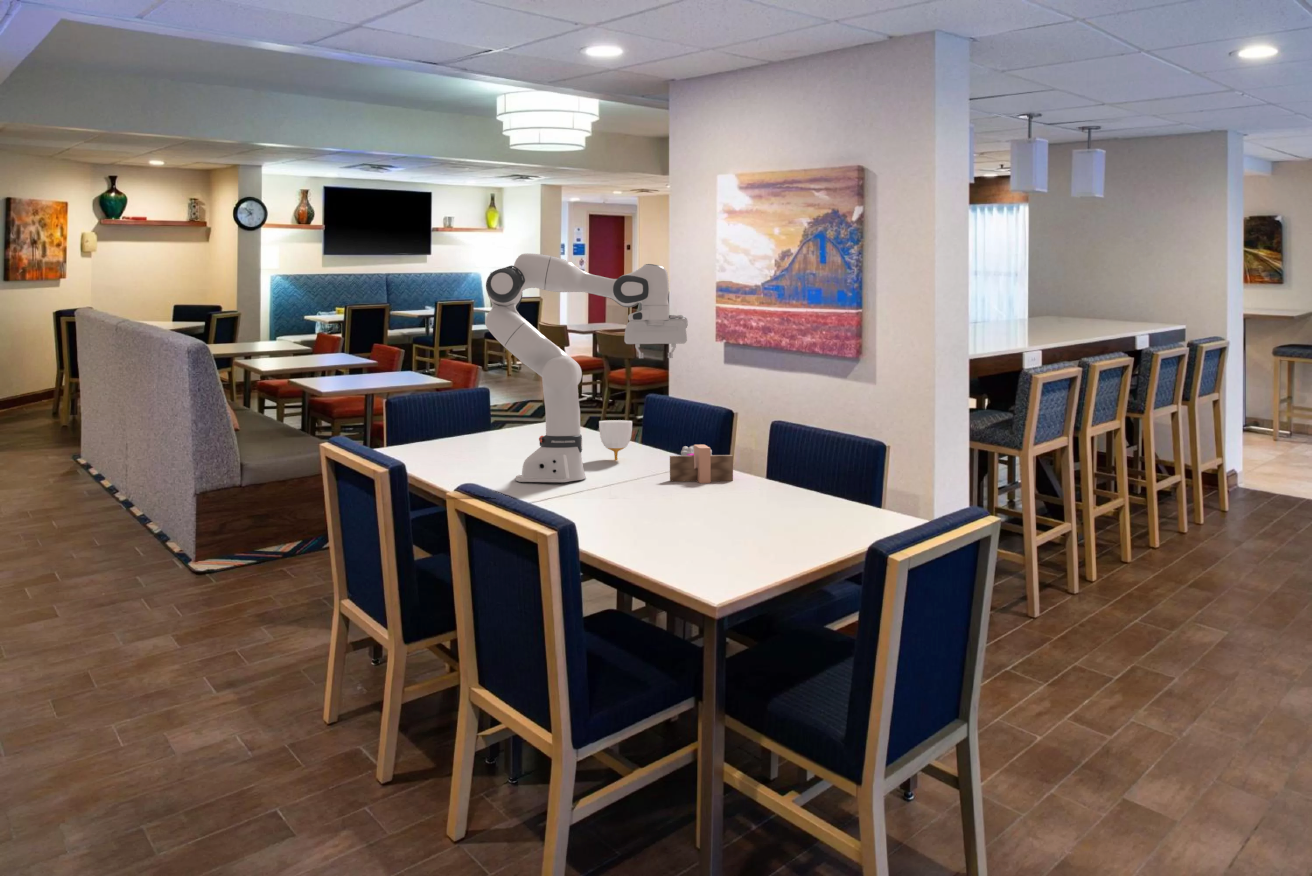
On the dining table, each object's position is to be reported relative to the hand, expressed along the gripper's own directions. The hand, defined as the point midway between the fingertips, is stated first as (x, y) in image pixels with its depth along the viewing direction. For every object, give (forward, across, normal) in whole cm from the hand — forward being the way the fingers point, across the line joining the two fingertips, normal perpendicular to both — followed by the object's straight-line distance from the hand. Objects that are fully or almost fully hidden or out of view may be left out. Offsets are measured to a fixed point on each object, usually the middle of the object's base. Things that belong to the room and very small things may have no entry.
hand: (655, 358), depth 314 cm
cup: (+39, +13, -25) cm, 48 cm away
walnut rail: (+39, -14, +8) cm, 42 cm away
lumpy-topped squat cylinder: (+39, -15, -18) cm, 46 cm away
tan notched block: (+39, -14, +8) cm, 42 cm away
